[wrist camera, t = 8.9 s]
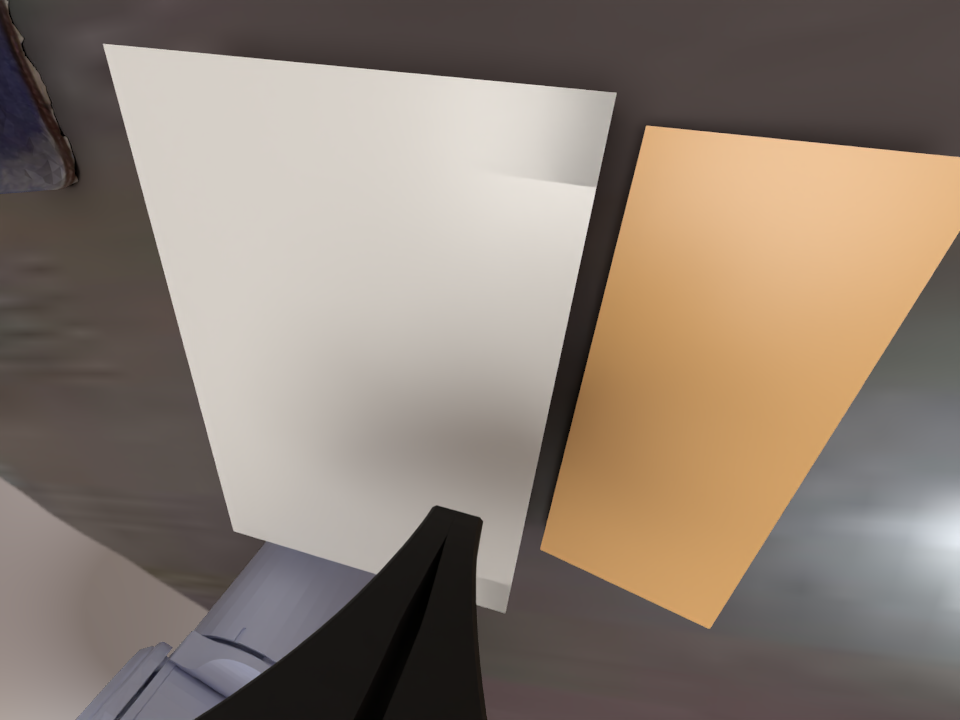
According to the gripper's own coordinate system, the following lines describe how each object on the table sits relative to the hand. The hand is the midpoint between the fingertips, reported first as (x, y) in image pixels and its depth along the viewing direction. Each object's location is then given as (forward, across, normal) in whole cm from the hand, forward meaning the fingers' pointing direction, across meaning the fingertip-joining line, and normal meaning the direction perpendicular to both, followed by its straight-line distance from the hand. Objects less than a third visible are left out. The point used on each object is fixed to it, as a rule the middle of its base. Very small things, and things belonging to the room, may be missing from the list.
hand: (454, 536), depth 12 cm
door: (+8, -3, -1) cm, 9 cm away
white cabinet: (+9, +5, -1) cm, 10 cm away
